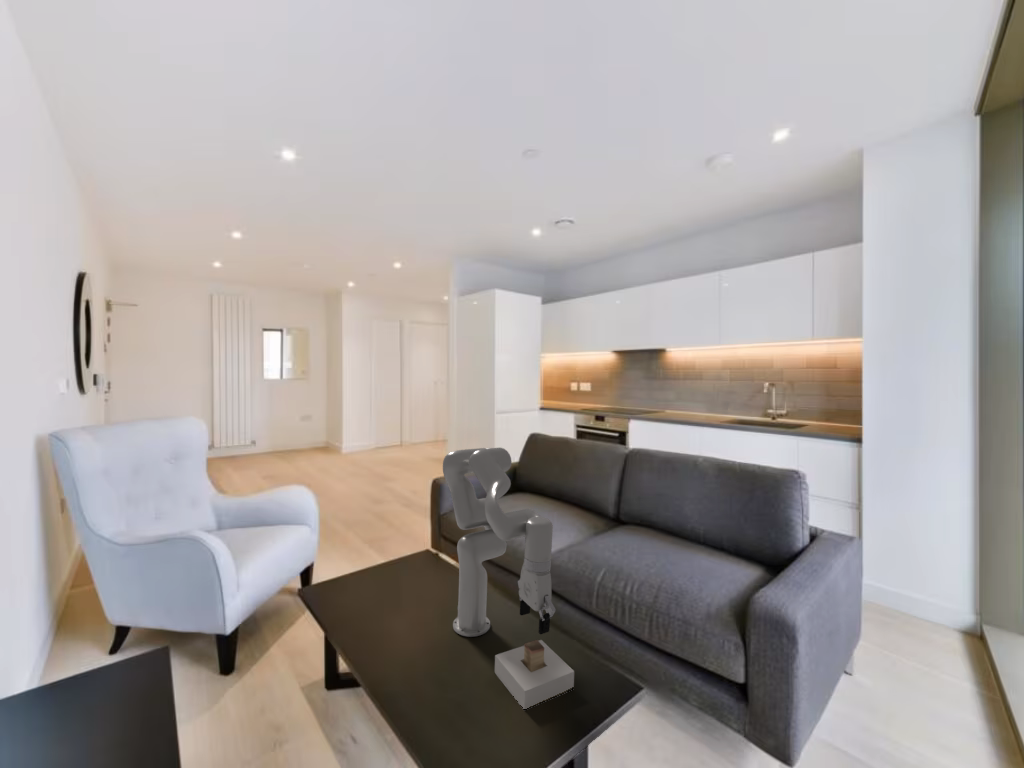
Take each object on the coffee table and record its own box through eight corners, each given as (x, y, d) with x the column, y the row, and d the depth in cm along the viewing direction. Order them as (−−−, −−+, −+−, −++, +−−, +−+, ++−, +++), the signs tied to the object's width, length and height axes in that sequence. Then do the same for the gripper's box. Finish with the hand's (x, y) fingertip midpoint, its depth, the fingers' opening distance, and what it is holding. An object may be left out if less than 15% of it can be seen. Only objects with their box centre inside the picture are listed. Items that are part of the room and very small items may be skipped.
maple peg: (523, 678, 122) (524, 643, 122) (535, 674, 124) (536, 639, 124) (530, 687, 118) (531, 651, 118) (542, 683, 120) (544, 647, 120)
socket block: (494, 672, 124) (495, 655, 124) (540, 655, 132) (541, 639, 132) (524, 710, 110) (524, 691, 110) (573, 689, 118) (574, 671, 118)
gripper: (510, 553, 126) (507, 610, 127) (543, 579, 111) (540, 644, 112) (531, 548, 130) (528, 604, 131) (566, 574, 115) (563, 636, 116)
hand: (534, 622), depth 121 cm, fingers open, 9 cm apart
